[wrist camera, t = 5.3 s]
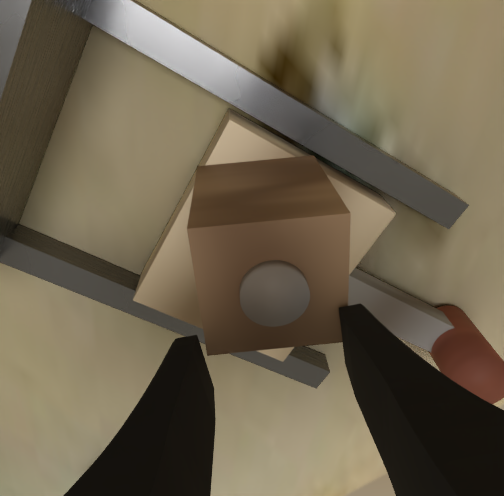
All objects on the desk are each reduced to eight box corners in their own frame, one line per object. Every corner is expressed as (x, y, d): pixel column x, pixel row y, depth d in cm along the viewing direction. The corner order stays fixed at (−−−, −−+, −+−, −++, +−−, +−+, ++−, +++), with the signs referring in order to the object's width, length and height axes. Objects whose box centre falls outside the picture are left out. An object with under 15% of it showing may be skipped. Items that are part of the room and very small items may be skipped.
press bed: (518, 273, 21) (579, 327, 17) (409, 387, 24) (442, 453, 20) (228, 107, 16) (230, 133, 13) (141, 273, 19) (123, 330, 16)
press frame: (455, 194, 19) (546, 265, 14) (311, 371, 23) (338, 478, 18) (46, -54, 14) (-60, -95, 9) (-40, 226, 18) (-149, 314, 13)
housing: (313, 155, 15) (355, 219, 11) (314, 256, 17) (350, 351, 12) (197, 166, 15) (185, 236, 10) (211, 267, 17) (206, 365, 12)
